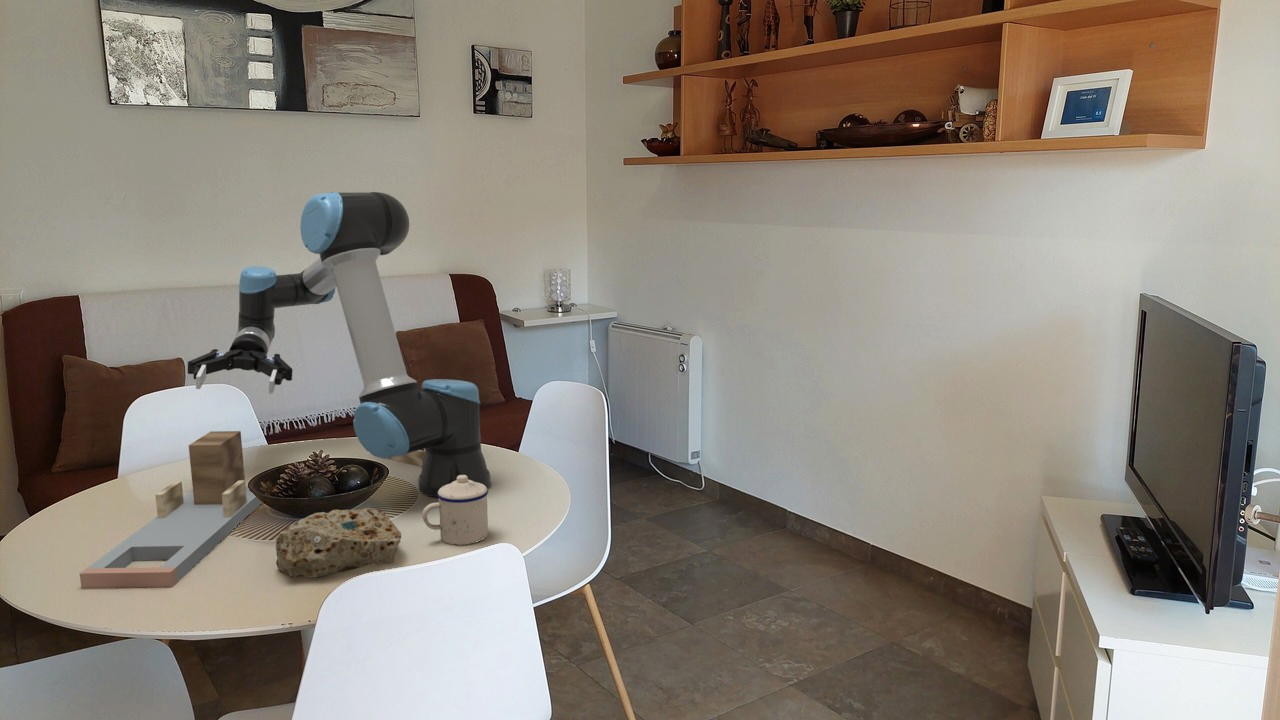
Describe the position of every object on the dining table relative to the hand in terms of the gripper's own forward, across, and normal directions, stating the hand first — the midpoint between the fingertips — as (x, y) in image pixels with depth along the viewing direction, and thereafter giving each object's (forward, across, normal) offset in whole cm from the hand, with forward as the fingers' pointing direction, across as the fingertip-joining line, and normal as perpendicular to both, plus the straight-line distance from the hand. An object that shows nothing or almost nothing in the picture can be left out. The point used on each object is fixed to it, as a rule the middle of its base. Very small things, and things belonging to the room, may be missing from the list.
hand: (234, 385), depth 186 cm
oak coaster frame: (-18, -41, -22) cm, 50 cm away
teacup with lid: (+36, -43, -12) cm, 58 cm away
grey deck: (+24, +4, -21) cm, 32 cm away
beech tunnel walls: (+16, +3, -20) cm, 25 cm away
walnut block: (+8, +1, -21) cm, 22 cm away
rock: (+42, -23, -14) cm, 51 cm away
